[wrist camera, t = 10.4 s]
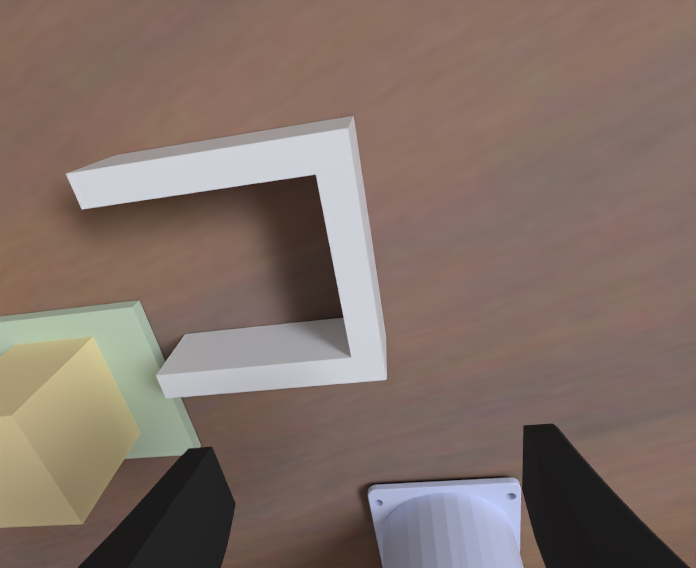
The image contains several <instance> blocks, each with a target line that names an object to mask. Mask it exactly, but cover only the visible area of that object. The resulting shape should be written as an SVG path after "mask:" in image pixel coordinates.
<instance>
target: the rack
mask: <svg viewBox="0 0 696 568" xmlns="http://www.w3.org/2000/svg"><path fill="white" fill-rule="evenodd" d="M66 175H67V177H68V180H69V182H70V184H71V186H72V189H73V191H74V193H75V195H76V198H77V200H78V202H79V204H80V207H81V209H88V208H95V207H101V206H108V205H115V204H122V203H128V202H135V201H142V200H148V199H155V198H162V197H168V196H175V195H182V194H189V193H195V192H202V191H209V190H215V189H222V188H229V187H235V186H242V185H249V184H256V183H262V182H269V181H276V180H282V179H289V178H296V177H302V176H309V175H316V178H317V183H318V188H319V193H320V199H321V204H322V209H323V214H324V219H325V224H326V229H327V235H328V240H329V245H330V250H331V255H332V260H333V266H334V271H335V276H336V281H337V286H338V291H339V296H340V302H341V307H342V312H343V317H344V318H335V319H325V320H316V321H306V322H296V323H287V324H277V325H268V326H258V327H249V328H239V329H230V330H220V331H210V332H201V333H191V334H185V335H184V336H183V338H182V339H181V341H180V342H179V343H178V345H177V346H176V348H175V349H174V351H173V352H172V353H171V355H170V356H169V358H168V359H167V360H166V362H165V363H164V365H163V366H162V367H161V369H160V370H159V372H158V373H157V375H156V377H157V379H158V382H159V384H160V386H161V388H162V391H163V393H164V395H165V397H166V398H177V397H189V396H201V395H213V394H225V393H236V392H248V391H260V390H272V389H284V388H295V387H307V386H319V385H331V384H343V383H354V382H366V381H378V380H387V366H386V333H385V326H384V319H383V313H382V306H381V299H380V292H379V286H378V279H377V272H376V265H375V258H374V252H373V245H372V238H371V231H370V225H369V218H368V211H367V204H366V197H365V191H364V184H363V177H362V170H361V164H360V157H359V150H358V143H357V136H356V130H355V123H354V116H350V117H344V118H338V119H332V120H326V121H320V122H313V123H307V124H301V125H295V126H289V127H283V128H277V129H271V130H265V131H259V132H253V133H247V134H241V135H235V136H229V137H223V138H217V139H211V140H205V141H199V142H193V143H186V144H180V145H174V146H168V147H162V148H156V149H150V150H144V151H138V152H132V153H126V154H120V155H115V156H112V157H109V158H107V159H104V160H101V161H99V162H96V163H93V164H91V165H88V166H85V167H83V168H80V169H77V170H74V171H72V172H69V173H66Z"/></svg>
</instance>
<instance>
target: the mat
mask: <svg viewBox="0 0 696 568" xmlns="http://www.w3.org/2000/svg"><path fill="white" fill-rule="evenodd" d="M85 337H93V338H94V340H95V342H96V344H97V346H98V348H99V350H100V352H101V354H102V356H103V358H104V360H105V362H106V364H107V366H108V368H109V370H110V372H111V374H112V376H113V378H114V380H115V382H116V384H117V386H118V388H119V390H120V392H121V394H122V396H123V398H124V400H125V402H126V404H127V406H128V408H129V410H130V412H131V415H132V417H133V419H134V421H135V423H136V425H137V427H138V429H139V431H140V433H141V434H140V435H139V437H138V438H137V440H136V442H135V443H134V445H133V446H132V448H131V449H130V451H129V452H128V454H127V456H126V457H125V459H131V458H146V457H162V456H177V455H183V454H184V453H185V452H186V451H187V449H188V448H200V446H201V444H200V442H199V439H198V437H197V435H196V432H195V430H194V428H193V425H192V423H191V421H190V418H189V416H188V414H187V411H186V409H185V407H184V404H183V402H182V399H181V397H177V398H166V397H165V395H164V393H163V391H162V388H161V386H160V384H159V382H158V379H157V377H156V375H157V373H158V372H159V370H160V369H161V367H162V366H163V365H164V363H165V360H164V357H163V355H162V352H161V350H160V348H159V345H158V343H157V341H156V338H155V336H154V334H153V331H152V329H151V327H150V324H149V322H148V320H147V317H146V315H145V313H144V310H143V308H142V306H141V303H140V301H139V300H137V301H129V302H120V303H112V304H103V305H95V306H86V307H78V308H69V309H60V310H52V311H43V312H35V313H26V314H18V315H9V316H1V317H0V356H1V355H3V354H4V353H5V352H6V351H8V350H9V349H10V348H11V347H13V346H14V345H16V344H26V343H36V342H46V341H56V340H65V339H75V338H85Z"/></svg>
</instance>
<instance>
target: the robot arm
mask: <svg viewBox="0 0 696 568" xmlns="http://www.w3.org/2000/svg"><path fill="white" fill-rule="evenodd" d="M522 490H523V494H524V498H525V502H526V506H527V510H528V514H529V517H530V521H531V525H532V528H533V532H534V536H535V539H536V542H537V545H538V547H539V550H540V553H541V555H542V558H543V561H544V563H545V566H546V568H690V567H689V566H688V565H687V564H686V563H685V562H683V561H682V560H681V559H680V558H679V557H678V556H677V555H676V554H675V553H674V552H673V551H672V550H671V549H670V548H669V547H668V546H667V545H666V544H665V543H664V542H663V541H662V540H661V539H659V538H658V537H657V536H656V535H655V534H654V533H653V532H652V531H651V530H650V529H649V528H648V527H647V526H646V525H645V524H644V523H643V522H642V521H641V520H640V518H639V517H638V516H637V515H636V514H635V513H634V512H633V511H632V510H631V509H630V508H629V507H628V506H627V505H626V504H625V503H624V502H623V501H622V500H621V499H620V498H619V497H618V496H617V495H616V493H615V492H614V491H613V490H612V489H611V488H610V487H609V486H608V485H607V484H606V483H605V482H604V481H603V479H602V478H601V477H600V476H599V475H598V474H597V473H596V472H595V471H594V469H593V468H592V467H591V466H590V465H589V464H588V463H587V462H586V460H585V459H584V458H583V457H582V456H581V455H580V453H579V452H578V451H577V450H576V449H575V448H574V446H573V445H572V444H571V443H570V442H569V440H568V439H567V438H566V437H565V436H564V434H563V433H562V432H561V431H560V430H559V428H558V427H557V426H555V425H554V424H540V425H525V426H524V428H523V477H522ZM368 500H369V505H370V509H371V514H372V519H373V524H374V528H375V533H376V538H377V543H378V547H379V552H380V557H381V562H382V567H383V568H524V567H523V564H522V560H521V557H520V513H521V487H520V484H519V481H518V480H517V479H515V478H490V479H472V480H453V481H434V482H416V483H397V484H378V485H372V486H371V487H369V489H368ZM234 509H235V501H234V499H233V496H232V494H231V492H230V489H229V487H228V484H227V482H226V479H225V477H224V475H223V472H222V470H221V467H220V465H219V462H218V460H217V457H216V455H215V453H214V450H213V448H212V447H202V448H188V449H187V451H186V452H185V453H184V454H183V455H182V456H181V457H180V458H179V459H178V460H177V461H176V462H175V464H174V465H173V466H172V467H171V468H170V469H169V470H168V471H167V472H166V474H165V475H164V476H163V477H162V478H161V479H160V480H159V481H158V483H157V484H156V485H155V486H154V487H153V488H152V489H151V490H150V491H149V493H148V494H147V495H146V496H145V497H144V498H143V499H142V500H141V501H140V503H139V504H138V505H137V506H136V507H135V508H134V509H133V510H132V511H131V512H130V514H129V515H128V516H127V517H126V518H125V519H124V520H123V521H122V522H121V523H120V524H119V526H118V527H117V528H116V529H115V530H114V531H113V532H112V533H111V534H110V535H109V536H108V537H107V538H106V539H105V540H104V541H103V542H102V543H101V544H100V545H99V546H98V547H97V548H96V549H95V550H94V551H93V553H92V554H91V555H90V556H89V557H88V558H87V559H86V560H85V561H84V562H83V563H82V564H81V565H80V566H79V567H78V568H221V565H222V562H223V558H224V555H225V552H226V548H227V544H228V539H229V535H230V530H231V525H232V520H233V514H234Z"/></svg>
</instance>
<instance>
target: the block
mask: <svg viewBox="0 0 696 568" xmlns="http://www.w3.org/2000/svg"><path fill="white" fill-rule="evenodd" d="M140 434H141V433H140V431H139V429H138V427H137V425H136V423H135V421H134V419H133V417H132V415H131V412H130V410H129V408H128V406H127V404H126V402H125V400H124V398H123V396H122V394H121V392H120V390H119V388H118V386H117V384H116V382H115V380H114V378H113V376H112V374H111V372H110V370H109V368H108V366H107V364H106V362H105V360H104V358H103V356H102V354H101V352H100V350H99V348H98V346H97V344H96V342H95V340H94V338H93V337H85V338H75V339H65V340H56V341H46V342H36V343H26V344H16V345H14V346H13V347H11V348H10V349H9V350H8V351H6V352H5V353H4V354H3V355H1V356H0V528H3V527H27V526H51V525H75V524H83V523H84V521H85V520H86V518H87V517H88V515H89V514H90V512H91V510H92V509H93V507H94V506H95V504H96V503H97V501H98V499H99V498H100V496H101V495H102V493H103V492H104V490H105V489H106V487H107V485H108V484H109V482H110V481H111V479H112V478H113V476H114V474H115V473H116V471H117V470H118V468H119V467H120V465H121V463H122V462H123V460H124V459H125V457H126V456H127V454H128V452H129V451H130V449H131V448H132V446H133V445H134V443H135V442H136V440H137V438H138V437H139V435H140Z"/></svg>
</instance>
